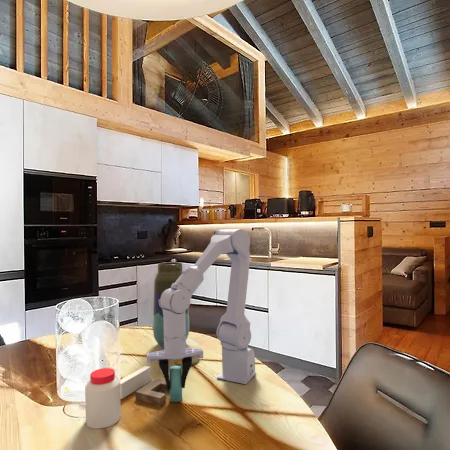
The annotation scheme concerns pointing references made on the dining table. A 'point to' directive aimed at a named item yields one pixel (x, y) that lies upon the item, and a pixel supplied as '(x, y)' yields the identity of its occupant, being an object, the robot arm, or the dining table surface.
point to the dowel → (175, 383)
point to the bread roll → (179, 361)
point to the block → (153, 392)
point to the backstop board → (134, 381)
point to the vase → (163, 281)
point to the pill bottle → (102, 399)
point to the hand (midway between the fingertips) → (175, 387)
